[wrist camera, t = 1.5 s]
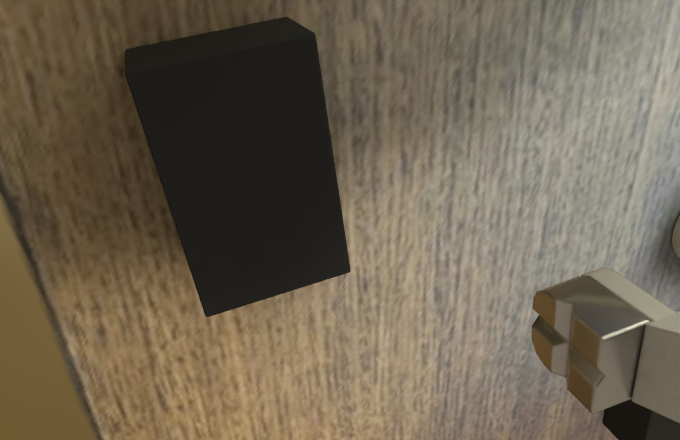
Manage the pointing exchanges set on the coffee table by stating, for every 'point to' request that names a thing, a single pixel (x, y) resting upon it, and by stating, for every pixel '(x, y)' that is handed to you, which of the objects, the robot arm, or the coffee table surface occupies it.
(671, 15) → the coffee table surface
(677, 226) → the cup
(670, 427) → the big pad
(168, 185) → the small pad
